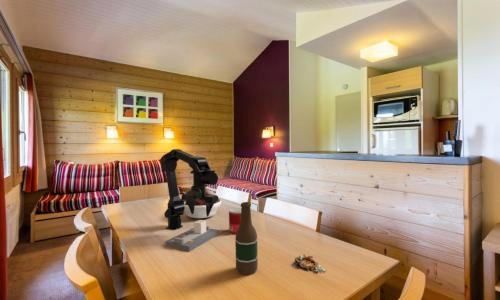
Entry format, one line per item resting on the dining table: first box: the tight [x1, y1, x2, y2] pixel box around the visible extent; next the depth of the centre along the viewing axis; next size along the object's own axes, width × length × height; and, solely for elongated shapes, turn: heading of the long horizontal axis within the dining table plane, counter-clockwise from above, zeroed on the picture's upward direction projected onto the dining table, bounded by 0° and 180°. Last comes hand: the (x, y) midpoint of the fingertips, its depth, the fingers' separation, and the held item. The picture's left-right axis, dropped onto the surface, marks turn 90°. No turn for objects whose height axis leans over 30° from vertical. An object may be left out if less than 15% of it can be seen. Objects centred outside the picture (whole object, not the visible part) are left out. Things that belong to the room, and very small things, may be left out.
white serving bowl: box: [184, 192, 222, 219], centre depth 157 cm, size 25×25×15 cm
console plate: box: [164, 225, 220, 252], centre depth 119 cm, size 14×22×4 cm, turn 152°
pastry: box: [291, 254, 326, 274], centre depth 92 cm, size 7×12×4 cm, turn 53°
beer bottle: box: [234, 201, 259, 276], centre depth 89 cm, size 8×8×24 cm
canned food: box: [228, 208, 241, 235], centre depth 129 cm, size 8×8×11 cm
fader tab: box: [193, 219, 207, 234], centre depth 123 cm, size 4×4×5 cm
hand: (200, 215), depth 123 cm, fingers open, 9 cm apart
